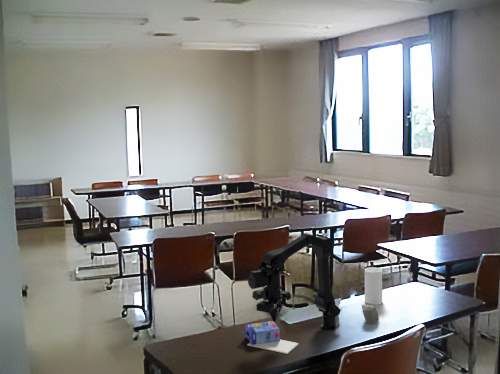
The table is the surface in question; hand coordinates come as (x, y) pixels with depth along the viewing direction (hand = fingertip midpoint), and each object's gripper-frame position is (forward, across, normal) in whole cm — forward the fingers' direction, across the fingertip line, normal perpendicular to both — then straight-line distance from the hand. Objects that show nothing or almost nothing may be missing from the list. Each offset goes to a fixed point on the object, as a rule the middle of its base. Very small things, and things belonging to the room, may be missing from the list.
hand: (274, 321), depth 214 cm
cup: (+9, -63, +20) cm, 67 cm away
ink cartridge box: (+6, -5, -2) cm, 8 cm away
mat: (+9, +2, 0) cm, 9 cm away
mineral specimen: (+9, -37, +27) cm, 47 cm away
